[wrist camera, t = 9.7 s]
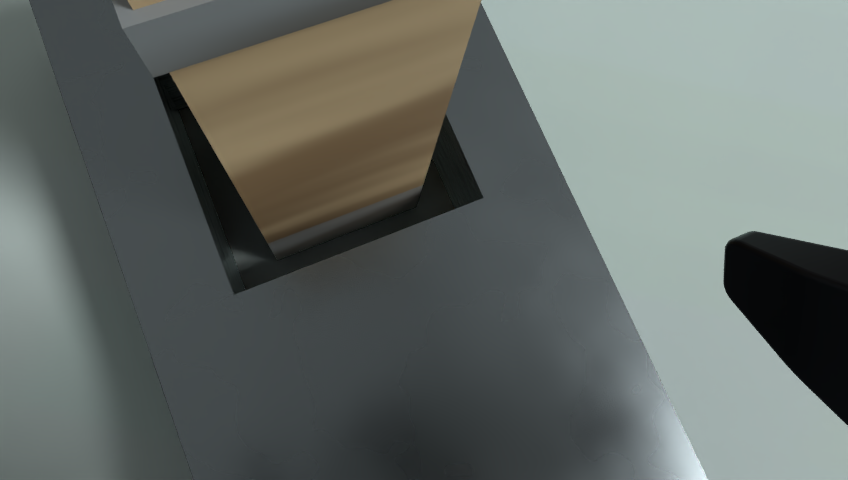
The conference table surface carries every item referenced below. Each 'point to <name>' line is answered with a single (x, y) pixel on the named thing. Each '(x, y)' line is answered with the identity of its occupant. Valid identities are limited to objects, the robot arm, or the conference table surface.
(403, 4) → the tan square column
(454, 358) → the panel
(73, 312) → the conference table surface
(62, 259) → the conference table surface
